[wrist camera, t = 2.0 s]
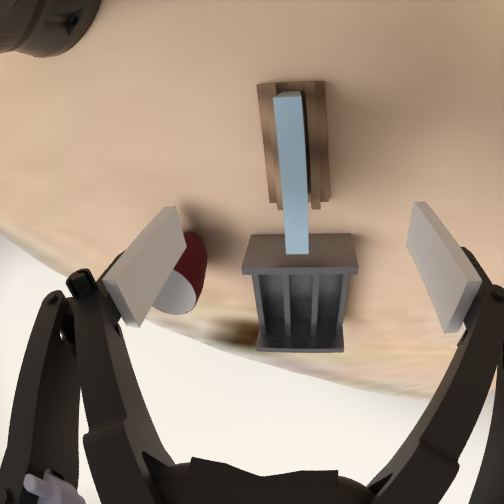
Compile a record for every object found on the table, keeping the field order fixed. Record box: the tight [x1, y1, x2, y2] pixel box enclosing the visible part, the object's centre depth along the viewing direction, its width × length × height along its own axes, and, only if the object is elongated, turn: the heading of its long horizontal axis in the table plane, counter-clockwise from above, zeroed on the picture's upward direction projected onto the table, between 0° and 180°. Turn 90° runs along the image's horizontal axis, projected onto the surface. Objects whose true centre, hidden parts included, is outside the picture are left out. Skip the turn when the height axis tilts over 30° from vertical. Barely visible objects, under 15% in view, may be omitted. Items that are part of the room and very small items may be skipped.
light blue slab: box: [273, 91, 309, 254], centre depth 24 cm, size 12×2×12 cm, turn 7°
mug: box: [152, 233, 207, 314], centre depth 35 cm, size 10×8×10 cm
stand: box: [257, 81, 329, 210], centre depth 28 cm, size 14×7×3 cm, turn 7°
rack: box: [242, 234, 358, 353], centre depth 38 cm, size 16×13×7 cm
